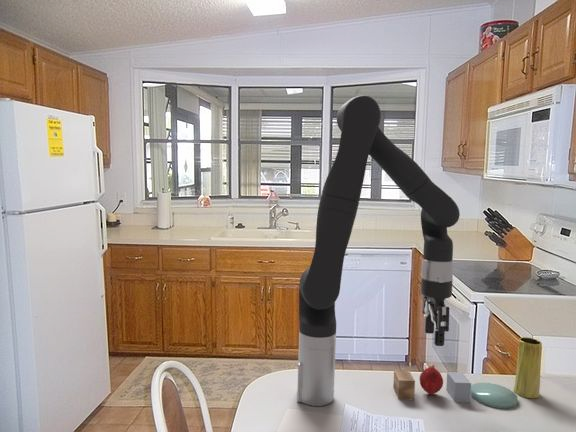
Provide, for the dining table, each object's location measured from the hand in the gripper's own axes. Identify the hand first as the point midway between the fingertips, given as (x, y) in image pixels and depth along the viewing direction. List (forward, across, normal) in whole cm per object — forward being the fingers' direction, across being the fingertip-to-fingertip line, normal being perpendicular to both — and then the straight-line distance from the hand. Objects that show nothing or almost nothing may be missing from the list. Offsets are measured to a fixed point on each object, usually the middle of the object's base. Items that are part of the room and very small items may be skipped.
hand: (433, 339), depth 112 cm
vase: (+15, -3, +26) cm, 30 cm away
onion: (+15, 0, 0) cm, 15 cm away
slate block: (+15, 0, +7) cm, 16 cm away
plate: (+15, 0, +16) cm, 22 cm away
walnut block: (+15, 0, -7) cm, 17 cm away
